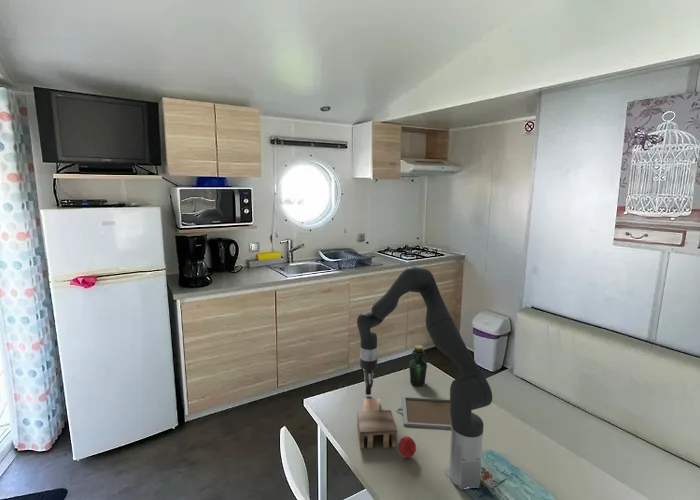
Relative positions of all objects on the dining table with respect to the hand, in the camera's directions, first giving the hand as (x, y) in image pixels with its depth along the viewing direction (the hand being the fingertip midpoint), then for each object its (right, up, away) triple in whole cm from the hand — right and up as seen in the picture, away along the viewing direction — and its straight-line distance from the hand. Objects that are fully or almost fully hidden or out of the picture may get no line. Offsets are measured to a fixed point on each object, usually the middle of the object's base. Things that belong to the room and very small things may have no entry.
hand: (368, 393), depth 160 cm
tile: (+1, -3, -11) cm, 12 cm away
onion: (+11, -7, -36) cm, 39 cm away
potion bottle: (+23, 0, +11) cm, 26 cm away
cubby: (+2, -5, -26) cm, 27 cm away
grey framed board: (+26, -4, -12) cm, 29 cm away
